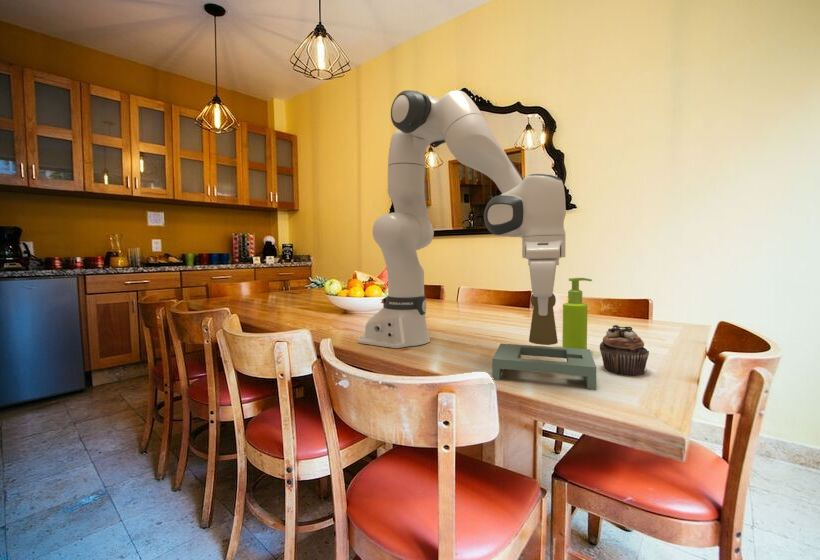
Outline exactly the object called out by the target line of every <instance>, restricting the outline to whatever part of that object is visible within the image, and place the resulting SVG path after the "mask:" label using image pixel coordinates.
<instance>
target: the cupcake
mask: <svg viewBox="0 0 820 560" xmlns="http://www.w3.org/2000/svg"><path fill="white" fill-rule="evenodd" d="M605 332H606V333H605V335H604V337H603V338H602V341H601V342H600V344H599V352H600V355H601V358H602V363H603V368H604V370H605V371H606V372H608V373H611V374H614V375H619V376H627V377H631V376H632V377H637V376H638V377H639V376H642V375H643V374H644V373H645V371H646V366H647V361H648V358H649V355H650V351H649V350H648V349H647V348H645V342H644V341H643V339H642V338H641V337H640V336H638V333H636V332H635V331H634V330H633V327H631V326H619V325H617V324H615V325H612V327H611V328H608V329H607V330H606V331H605Z"/></svg>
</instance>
